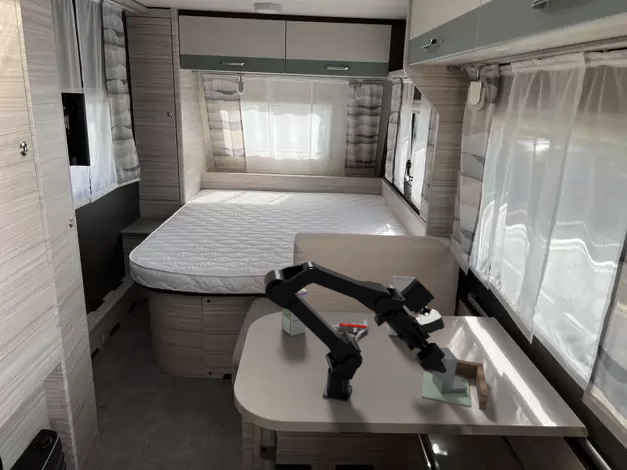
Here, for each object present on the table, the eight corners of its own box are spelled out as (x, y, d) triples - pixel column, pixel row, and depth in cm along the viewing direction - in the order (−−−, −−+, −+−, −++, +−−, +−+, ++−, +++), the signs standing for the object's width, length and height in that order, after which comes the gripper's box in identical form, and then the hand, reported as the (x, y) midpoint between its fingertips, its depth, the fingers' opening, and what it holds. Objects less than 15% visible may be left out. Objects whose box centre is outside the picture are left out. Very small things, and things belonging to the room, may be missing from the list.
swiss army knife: (331, 339, 150) (331, 333, 150) (332, 319, 163) (333, 314, 163) (367, 342, 150) (368, 336, 149) (366, 322, 163) (367, 317, 162)
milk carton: (410, 336, 154) (417, 281, 149) (388, 335, 154) (394, 280, 149) (406, 326, 161) (413, 273, 156) (385, 325, 161) (391, 272, 156)
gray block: (440, 393, 124) (446, 359, 122) (432, 380, 130) (436, 347, 127) (466, 392, 126) (472, 358, 123) (456, 379, 131) (461, 347, 129)
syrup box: (305, 332, 153) (308, 290, 149) (290, 336, 150) (292, 293, 146) (296, 325, 157) (298, 283, 153) (280, 329, 154) (282, 286, 150)
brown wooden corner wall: (485, 409, 120) (488, 395, 119) (425, 397, 123) (427, 384, 122) (480, 376, 134) (482, 363, 133) (427, 366, 137) (429, 354, 136)
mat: (470, 406, 120) (470, 405, 120) (421, 397, 123) (422, 396, 123) (468, 380, 132) (468, 379, 132) (423, 372, 134) (423, 371, 134)
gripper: (442, 319, 111) (479, 361, 116) (414, 288, 128) (446, 325, 133) (405, 350, 112) (443, 390, 117) (382, 315, 129) (416, 351, 134)
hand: (437, 362), depth 125 cm, fingers open, 9 cm apart
